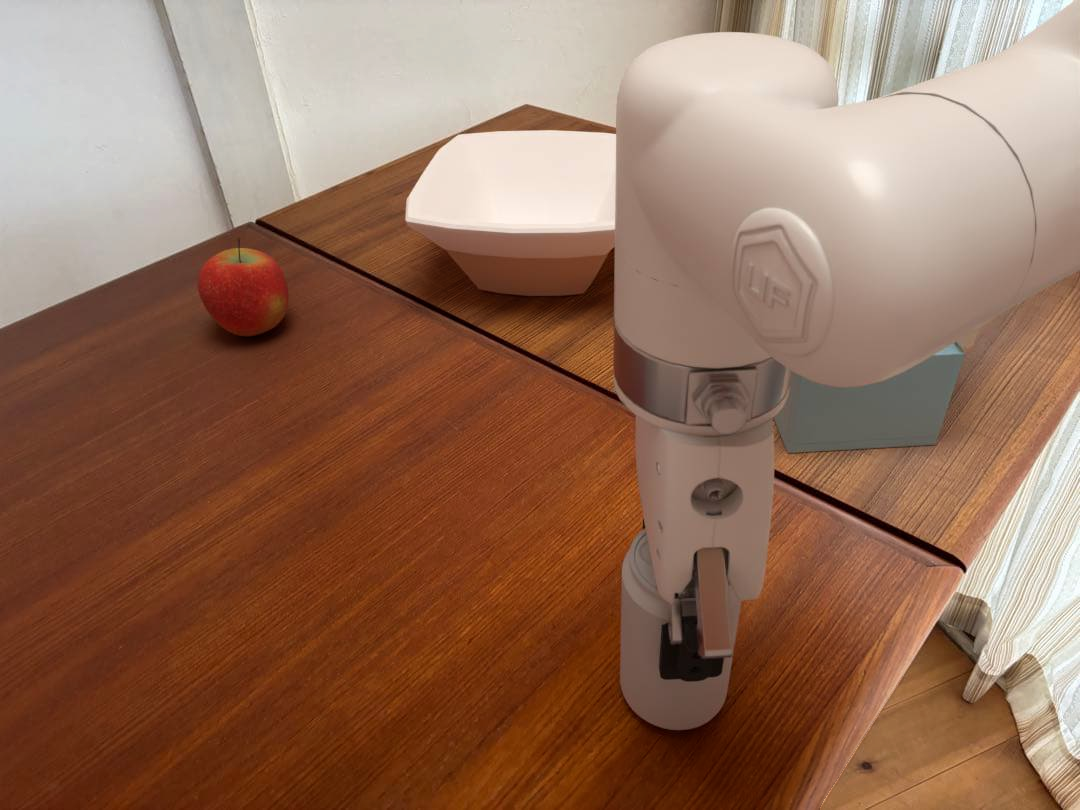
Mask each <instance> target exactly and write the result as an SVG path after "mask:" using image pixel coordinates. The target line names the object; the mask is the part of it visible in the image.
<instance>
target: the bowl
mask: <svg viewBox="0 0 1080 810" xmlns="http://www.w3.org/2000/svg"><path fill="white" fill-rule="evenodd" d="M615 177H616V133H610V132H598V131H579V130H578V131H577V130H576V131H575V130H556V129H554V130H553V129H543V130H542V129H541V130H497V131H485V132H473V133H471V132H470V133H462V134H461V133H460V134H457V135H456V136H455V137H453V138H452V139H450V140H449V141H448V142H446V143H445V144H444V145H443V146H441V147H440V148H439V149H438V150H437V151H436V153H435V154H434V156H433V157H432V158H431V160H430V162H429V163H428V165H427V166H426V167H425V169H424V170H423V172H422V173H421V175H420V177H419V179H418V180H417V182H416V183H415V185H414V186H413V188H412V190H411V191H410V193H409V194H408V196H407V198H406V201H405V202H406V203H405V215H404V216H405V219H404V220H405V223H406V226H407V227H408V228H410V229H411V230H413V231H415V232H417V233H418V234H419V235H421V236H423V237H424V238H426V239H427V240H429V241H430V242H432V243H434V244H435V245H437V246H439V247H440V248H442V249H443V250H445V252H447V254H448V255H449V256H450V257H451V259H453V261H454V262H455V264H456V265H457V266H459V268H460V269H461V270H462V272H463V273H464V274H465V275H466V276H467V277H468V279H470V280H471V282H472V283H473V284H474V285H475V286H476V288H477V289H478V290H480V291H485V292H492V293H496V294H503V295H515V296H524V297H561V296H562V297H563V296H573V295H582V294H585V293H586V291H587V290H588V289H589V287H590V286H591V285H592V283H593V282H594V281H595V279H596V277H597V275H598V273H599V272H600V270H601V268H602V266H603V265H604V263H605V261H606V259H607V258H608V255H609V254H610V252H611V250H613V249H615Z"/></svg>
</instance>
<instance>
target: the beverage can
mask: <svg viewBox="0 0 1080 810" xmlns="http://www.w3.org/2000/svg"><path fill="white" fill-rule="evenodd" d="M692 576H694V570H693V571H692ZM620 598H621V599H620V601H621V602H620V650H619V651H620V652H619V653H620V654H619V655H620V657H619V661H620V662H619V683H620V684H619V685H620V690H621V692H622V696H623V697H624V700H625V701H626V703H627V705H628V706H629V707H630V708H631V709H632V711H633V712H634V713H635V714H636V715H637V716H638V717H639V718H641V719H642V720H643V721H645V722H647V723H649V724H651V725H653V726H656V727H658V728H661V729H664V730H671V731H685V730H691V729H696V728H699V727H701V726H703V725H705V724H707V723H709V722H710V721H711V720H712V719H713V718H714V717H715V716H716V715H717V714H718V713H719V712H720V711H721V710H722V708H723V706H724V705H725V702H726V699H727V695H728V690H729V683H730V677H731V670H732V665H733V658H734V652H735V651H734V650H735V645H736V638H737V632H738V625H739V618H740V612H741V606H742V601H739V600H738V598H737V597H736V595H735V593H734V591H733V589H732V587H731V585H730V583H729V615H730V626H731V638H732V651H733V652H732V657H728V658H724V662H723V669H722V673H721V675H719V676H717V677H708V678H707V679H705V680H702V681H692V682H687V681H683V680H681V679H673V680H664V679H662V678H661V677H660V672H659V658H660V643H661V629H662V625H663V624H666V623H668V602H667V601H666V600H664V599H663V598H662V597H661V596H660V594H659V592H658V588H657V584H656V579H655V575H654V570H653V564H652V559H651V554H650V549H649V544H648V539H647V534H646V528H645V529H643V530H640V531H639V532H638V533H637V534H636V535H635V537H634V539H633V541H632V542H631V545H630V548H629V550H628V551H627V552H626V555H625V556H624V558H623V562H622V565H621V597H620ZM683 616H697V606H696V598H682V617H683Z"/></svg>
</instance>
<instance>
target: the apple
mask: <svg viewBox="0 0 1080 810" xmlns="http://www.w3.org/2000/svg"><path fill="white" fill-rule="evenodd" d="M240 245H241V237H240V236H238V237H237V247H234V248H229V249H225V250H222V251H220V252H218V253H216V254H215V255H213V256H211V257H210V258H209V259H208V260H207V261H206V262H205V263H204V264H203V266H202V267H201V269H200V271H199V274H198V276H197V292H198V295H199V298H200V300H201V302H202V304H203V306H204V308H205V310H206V311H207V313H208V314H209V315H210V316H211V318H212V319H213V320H214V321H215V322H216V323H217V324H218V325H219V326H220V327H221V328H223V329H224V330H226V331H227V332H229V333H231V334H233V335H236V336H240V337H253V336H257V335H258V336H259V335H261V334H264V333H267V332H269V331H270V330H273V329H274V328H275V327H277V326H278V325H279V324H280V322H281V321H282V320H283V318H284V317H285V315H286V312H287V310H288V306H289V288H288V282H287V279H286V276H285V274H284V272H283V270H282V268H281V267H280V265H279V264H278V263H277V261H276V260H275V259H274V258H272V257H271V256H270V255H268V254H267V253H265V252H263V251H260V250H257V249H253V248H246V247H241V246H240Z"/></svg>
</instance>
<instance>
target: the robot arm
mask: <svg viewBox="0 0 1080 810" xmlns="http://www.w3.org/2000/svg"><path fill="white" fill-rule="evenodd" d="M839 102H840V101H839V88H838V84H837V79H836V75H835V73H834V71H833V69H832V67H831V66H830V64H829V63H828V61H827V60H826V59H825V58H824V57H823V56H821V54H819V52H817V51H815V50H814V49H813V48H811V47H809V46H807V45H805V44H803V43H799V42H796V41H794V40H790V39H788V38H783V37H780V36H776V35H770V34H763V33H755V32H742V31H741V32H740V31H738V32H737V31H717V32H715V31H714V32H703V33H693V34H689V35H683V36H679V37H676V38H672V39H668V40H665V41H662V42H659V43H657V44H654V45H652V46H651V47H649V48H647V49H646V50H644V51H643V52H642V53H640V54H639V55H638V56H637V57H635V58H634V59H633V60H632V61H631V63H630V64H629V66H628V67H627V68H626V70H625V71H624V75H623V77H622V78H621V81H620V83H619V87H618V92H617V97H616V109H615V110H616V111H615V134H616V177H615V247H614V268H613V269H614V270H613V271H614V273H613V274H614V276H613V279H614V281H613V283H614V284H613V285H614V286H613V355H612V357H613V366H612V369H613V373H612V374H613V375H612V376H613V377H612V382H613V387H614V391H615V393H616V395H617V397H618V399H619V400H620V403H622V404H623V405H624V406H625V408H626V409H628V410H629V411H630V412H631V413H632V414H634V415H635V427H634V428H635V429H634V430H635V431H634V432H635V433H634V434H635V435H634V437H635V439H634V441H635V442H634V443H635V446H634V447H635V462H636V463H635V467H636V476H637V485H638V486H637V487H638V492H639V500H640V505H641V511H642V516H643V517H642V530H643V529H645V528H646V534H647V539H648V544H649V549H650V554H651V559H652V564H653V570H654V575H655V579H656V584H657V588H658V592H659V594H660V596H661V597H662V598H663V599H664V600H666V601H667V602H668V623H666V624H663V625H662V629H661V643H660V658H659V672H660V677H661V678H662V679H664V680H673V679H681V680H683V681H687V682H692V681H702V680H705V679H707V678H708V677H717V676H719V675H721V673H722V669H723V662H724V658H728V657H732V652H733V653H734V651H732V638H731V626H730V615H729V583H730V585H731V587H732V589H733V591H734V593H735V595H736V597H737V598H738V600H739V601H741V602H745V601H746V602H747V601H755V600H757V598H758V597H760V595H761V593H762V592H763V588H764V583H765V577H766V569H767V568H766V567H767V559H768V552H769V551H768V550H769V542H770V533H771V532H770V531H771V523H772V514H773V502H774V501H773V499H774V489H775V488H774V486H775V431H774V429H775V428H774V418H773V417H774V416H775V415H777V414H778V412H779V411H780V410H781V409H782V408H783V406H784V405H785V403H786V401H787V398H788V395H789V389H790V383H791V377H792V372H794V373H796V374H798V375H800V376H802V377H805V378H807V379H809V380H811V381H813V382H817V383H820V384H824V385H829V386H835V387H857V386H864V385H868V384H872V383H876V382H880V381H884V380H886V379H888V378H891V377H893V376H895V375H898V374H900V373H902V372H904V371H906V370H908V369H910V368H912V367H914V366H915V365H917V364H919V363H921V362H923V361H924V360H926V359H928V358H930V357H931V356H933V355H935V354H936V353H938V352H940V351H941V350H943V349H945V348H946V347H948V346H950V345H951V344H953V343H955V342H957V341H958V340H960V339H962V338H963V337H965V336H967V335H968V334H970V333H972V332H973V331H975V330H977V329H978V328H979V329H980V328H982V327H984V326H985V325H987V324H988V323H990V322H992V321H994V319H996V318H997V317H999V316H1000V315H1002V314H1003V313H1005V312H1007V311H1009V310H1011V309H1012V308H1014V307H1016V306H1017V305H1019V304H1021V303H1023V302H1025V301H1027V300H1028V299H1030V298H1032V297H1033V296H1035V295H1037V294H1039V293H1041V292H1042V291H1045V290H1046V289H1047V288H1049V287H1051V286H1053V285H1055V284H1057V283H1058V282H1061V281H1062V280H1064V279H1066V278H1068V277H1070V276H1072V275H1073V274H1076V273H1077V272H1079V271H1080V0H1073V1H1072V2H1071V3H1069V4H1068V5H1067V6H1065V7H1064V8H1062V9H1061V10H1060V11H1058V12H1057V13H1055V14H1054V15H1053V16H1051V17H1050V18H1048V19H1046V21H1045V22H1043V23H1042V24H1040V25H1039V26H1038V27H1036V28H1035V29H1033V30H1032V31H1031V32H1029V33H1028V34H1026V35H1025V36H1023V37H1022V38H1020V39H1019V40H1018V41H1016V42H1015V43H1013V44H1011V45H1009V46H1008V47H1007V48H1005V49H1003V50H1002V51H1000V52H998V53H996V54H995V55H993V56H991V57H989V58H988V59H986V60H983V61H980V62H978V63H975V64H971V65H967V66H965V67H961V68H959V69H955V70H952V71H950V72H947V73H944V74H941V75H938V76H936V77H933V78H930V79H928V80H927V79H926V80H925V81H921V82H919V83H916V84H913V85H910V86H908V87H904V88H902V89H900V90H897V91H894V92H891V93H888V94H885V95H883V96H880V97H877V98H874V99H869V100H863V101H858V102H852V103H848V104H843V105H839ZM642 530H641V531H642ZM693 570H694V576H692V571H693ZM682 598H696V606H697V616H683V617H682Z"/></svg>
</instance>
